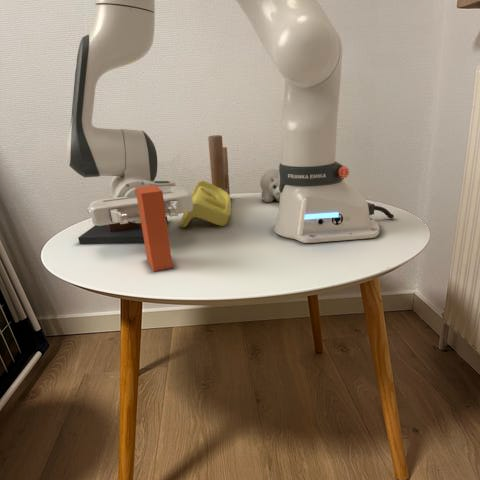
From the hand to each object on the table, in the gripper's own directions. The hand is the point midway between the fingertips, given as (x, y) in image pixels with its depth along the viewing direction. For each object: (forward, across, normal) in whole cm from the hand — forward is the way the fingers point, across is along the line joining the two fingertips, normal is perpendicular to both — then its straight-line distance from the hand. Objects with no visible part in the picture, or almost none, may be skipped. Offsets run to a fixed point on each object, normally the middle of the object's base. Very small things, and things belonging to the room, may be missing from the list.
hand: (149, 215), depth 81 cm
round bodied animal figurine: (-28, +39, +9) cm, 49 cm away
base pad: (-21, -3, +8) cm, 23 cm away
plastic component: (-23, +18, +9) cm, 30 cm away
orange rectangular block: (+4, 0, +8) cm, 9 cm away
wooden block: (-35, +26, +9) cm, 45 cm away
